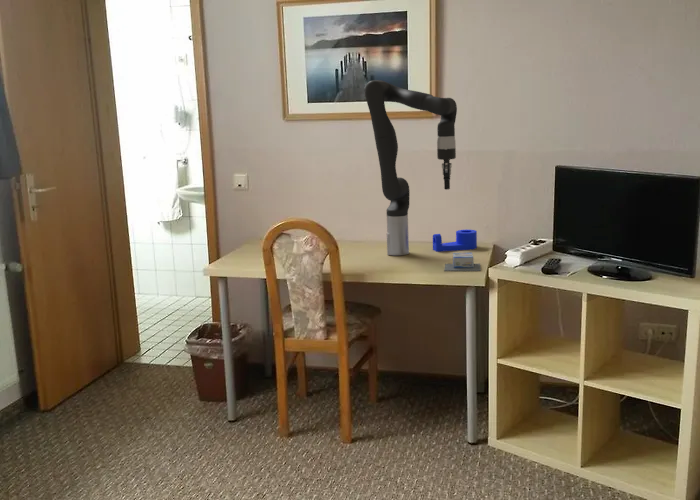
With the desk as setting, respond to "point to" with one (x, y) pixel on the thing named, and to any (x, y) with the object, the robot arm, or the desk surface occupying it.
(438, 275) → the desk surface
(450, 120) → the robot arm
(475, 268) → the mat
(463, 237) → the bracket
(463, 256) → the medicine box
